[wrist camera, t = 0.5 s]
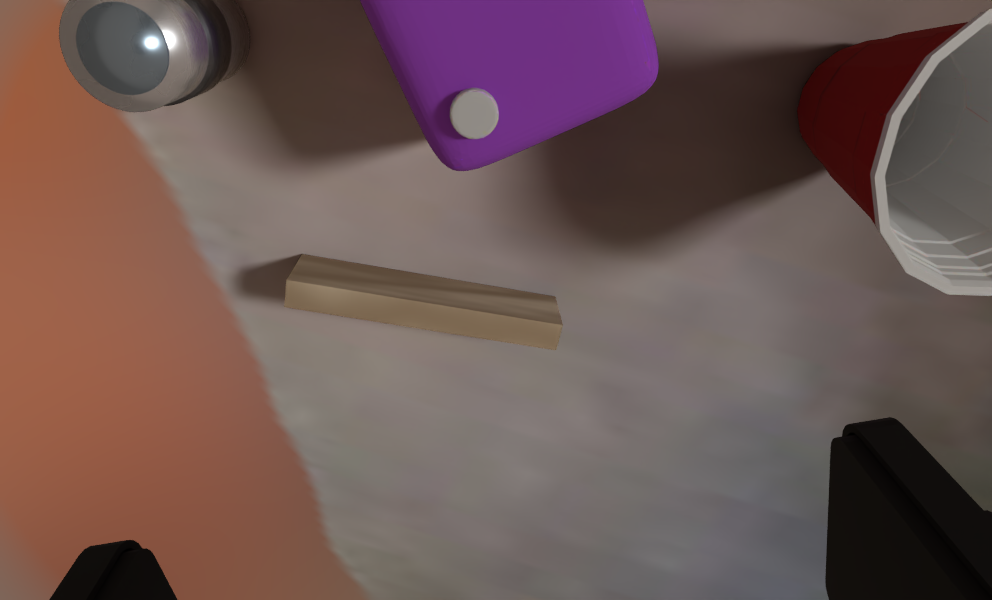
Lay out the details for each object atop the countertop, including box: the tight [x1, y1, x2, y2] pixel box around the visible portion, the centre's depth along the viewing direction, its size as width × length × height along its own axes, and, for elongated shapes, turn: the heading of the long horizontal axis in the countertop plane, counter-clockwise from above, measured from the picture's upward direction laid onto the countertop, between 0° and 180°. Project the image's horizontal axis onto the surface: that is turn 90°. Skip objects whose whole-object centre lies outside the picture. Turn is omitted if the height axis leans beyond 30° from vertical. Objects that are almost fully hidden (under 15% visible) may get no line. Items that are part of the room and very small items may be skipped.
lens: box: [59, 0, 250, 112], centre depth 29 cm, size 5×5×8 cm
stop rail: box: [284, 254, 563, 350], centre depth 37 cm, size 2×14×4 cm, turn 79°
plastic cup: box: [797, 9, 992, 296], centre depth 29 cm, size 11×11×12 cm
